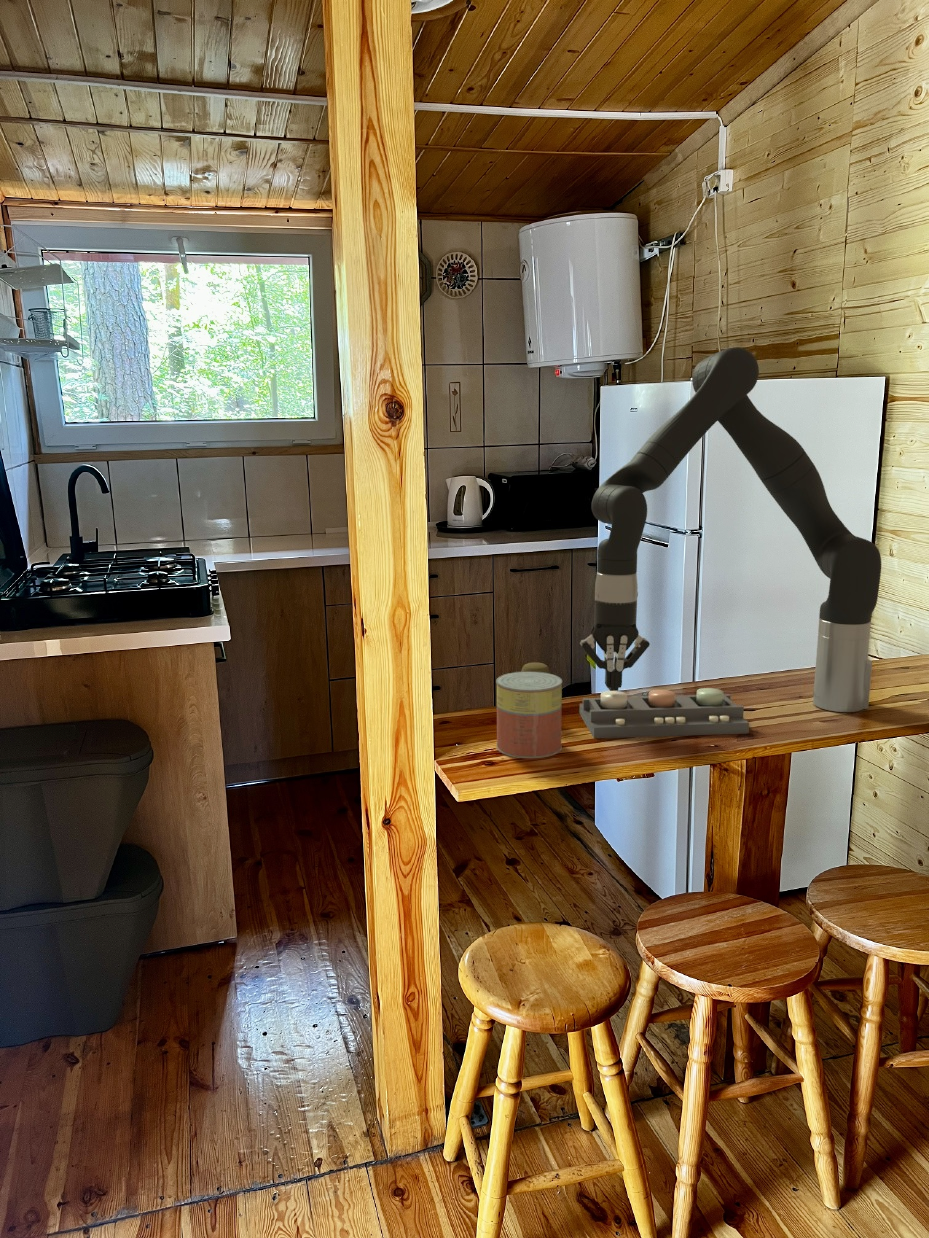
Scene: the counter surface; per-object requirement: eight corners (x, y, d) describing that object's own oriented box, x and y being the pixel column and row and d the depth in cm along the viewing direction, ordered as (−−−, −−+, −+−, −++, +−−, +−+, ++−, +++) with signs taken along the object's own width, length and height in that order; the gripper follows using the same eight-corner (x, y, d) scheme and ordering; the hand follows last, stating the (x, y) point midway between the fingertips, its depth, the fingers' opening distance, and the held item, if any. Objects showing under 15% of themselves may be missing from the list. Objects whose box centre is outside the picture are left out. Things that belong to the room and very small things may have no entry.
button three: (670, 699, 173) (671, 689, 173) (678, 707, 169) (678, 696, 168) (645, 700, 173) (646, 689, 173) (652, 707, 168) (652, 697, 168)
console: (722, 709, 179) (723, 689, 179) (748, 733, 166) (749, 712, 165) (579, 713, 178) (579, 693, 177) (593, 738, 164) (594, 716, 163)
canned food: (530, 731, 168) (531, 667, 166) (575, 748, 160) (576, 681, 157) (483, 745, 161) (482, 679, 159) (526, 763, 153) (526, 694, 150)
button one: (623, 700, 173) (623, 690, 172) (629, 708, 168) (629, 698, 168) (598, 701, 173) (598, 691, 172) (603, 709, 168) (603, 698, 168)
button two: (718, 697, 174) (718, 687, 174) (726, 705, 169) (727, 695, 169) (692, 698, 174) (693, 688, 173) (700, 706, 169) (701, 695, 169)
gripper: (647, 592, 170) (643, 683, 174) (575, 593, 169) (573, 684, 173) (657, 600, 163) (653, 695, 167) (583, 601, 162) (581, 696, 166)
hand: (613, 689), depth 170 cm, fingers closed
